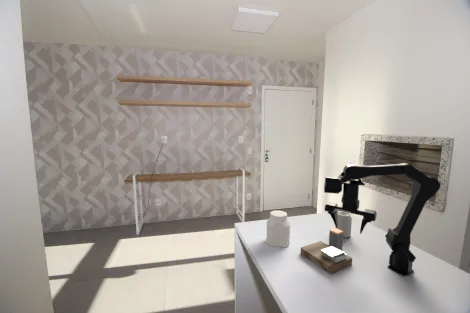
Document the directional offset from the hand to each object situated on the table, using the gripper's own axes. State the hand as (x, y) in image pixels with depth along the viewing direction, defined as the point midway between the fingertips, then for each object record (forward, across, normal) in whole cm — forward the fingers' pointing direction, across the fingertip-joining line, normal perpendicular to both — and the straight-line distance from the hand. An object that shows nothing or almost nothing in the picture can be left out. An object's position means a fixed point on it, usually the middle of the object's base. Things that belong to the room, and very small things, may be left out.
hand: (348, 230), depth 91 cm
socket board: (+13, +8, +5) cm, 16 cm away
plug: (+14, +6, -8) cm, 17 cm away
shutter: (+10, +4, +7) cm, 13 cm away
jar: (+14, +30, +5) cm, 34 cm away
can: (+14, +7, -24) cm, 28 cm away
